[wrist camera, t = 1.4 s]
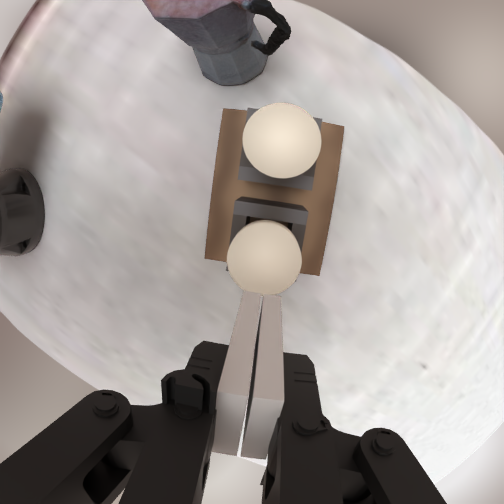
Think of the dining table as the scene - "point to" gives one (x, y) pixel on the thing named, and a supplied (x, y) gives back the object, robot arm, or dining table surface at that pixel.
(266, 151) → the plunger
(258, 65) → the moka pot
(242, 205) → the mount
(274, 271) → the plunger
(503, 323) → the dining table surface
